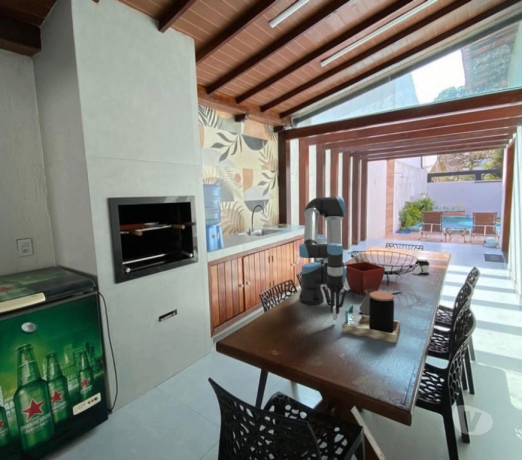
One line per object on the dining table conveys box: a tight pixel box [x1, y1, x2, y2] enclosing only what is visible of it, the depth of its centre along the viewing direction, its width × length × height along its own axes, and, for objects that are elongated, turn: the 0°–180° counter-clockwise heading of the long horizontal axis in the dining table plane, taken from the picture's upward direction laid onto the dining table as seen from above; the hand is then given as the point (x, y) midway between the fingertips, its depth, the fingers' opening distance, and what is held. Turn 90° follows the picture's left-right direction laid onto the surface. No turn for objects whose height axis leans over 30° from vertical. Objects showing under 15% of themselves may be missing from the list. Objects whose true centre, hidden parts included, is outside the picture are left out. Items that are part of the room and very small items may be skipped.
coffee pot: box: [359, 290, 403, 316], centre depth 159 cm, size 21×12×15 cm, turn 55°
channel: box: [341, 312, 401, 344], centre depth 144 cm, size 24×15×4 cm, turn 60°
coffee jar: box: [369, 290, 395, 333], centre depth 141 cm, size 11×11×18 cm
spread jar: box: [411, 257, 430, 275], centre depth 234 cm, size 12×11×12 cm
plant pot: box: [344, 261, 386, 296], centre depth 199 cm, size 19×19×17 cm
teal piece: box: [343, 303, 362, 327], centre depth 148 cm, size 6×13×9 cm, turn 150°
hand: (335, 319), depth 153 cm, fingers closed
